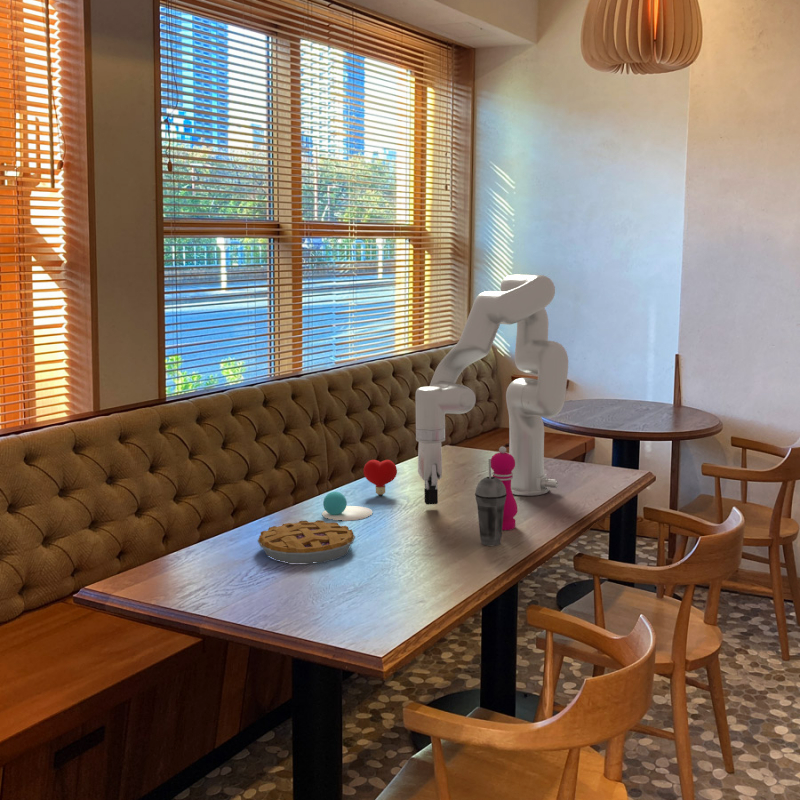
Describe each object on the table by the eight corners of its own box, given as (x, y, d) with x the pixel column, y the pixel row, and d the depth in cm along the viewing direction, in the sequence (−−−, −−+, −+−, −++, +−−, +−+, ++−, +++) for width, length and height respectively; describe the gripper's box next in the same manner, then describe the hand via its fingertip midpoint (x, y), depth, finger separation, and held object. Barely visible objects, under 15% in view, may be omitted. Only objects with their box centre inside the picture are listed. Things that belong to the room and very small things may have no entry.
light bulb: (398, 492, 260) (398, 457, 258) (396, 499, 253) (395, 463, 251) (365, 492, 261) (364, 457, 259) (362, 498, 254) (361, 462, 252)
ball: (321, 488, 238) (316, 511, 239) (336, 495, 234) (331, 518, 234) (338, 488, 242) (333, 510, 243) (353, 495, 238) (348, 518, 239)
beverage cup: (509, 539, 216) (510, 455, 213) (502, 549, 209) (503, 462, 206) (479, 536, 218) (479, 453, 215) (471, 546, 212) (471, 460, 208)
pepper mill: (521, 524, 228) (521, 444, 225) (512, 532, 221) (512, 450, 218) (493, 521, 231) (493, 442, 228) (483, 529, 224) (483, 448, 221)
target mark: (381, 509, 242) (381, 509, 242) (357, 523, 231) (357, 522, 231) (338, 504, 248) (338, 503, 248) (312, 517, 237) (312, 516, 237)
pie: (278, 574, 196) (277, 551, 195) (245, 546, 215) (244, 525, 214) (371, 557, 206) (370, 535, 205) (332, 531, 225) (331, 511, 224)
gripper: (411, 429, 246) (412, 496, 249) (420, 441, 232) (421, 512, 235) (439, 428, 247) (439, 495, 250) (450, 439, 233) (450, 510, 236)
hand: (431, 503), depth 242 cm, fingers closed
